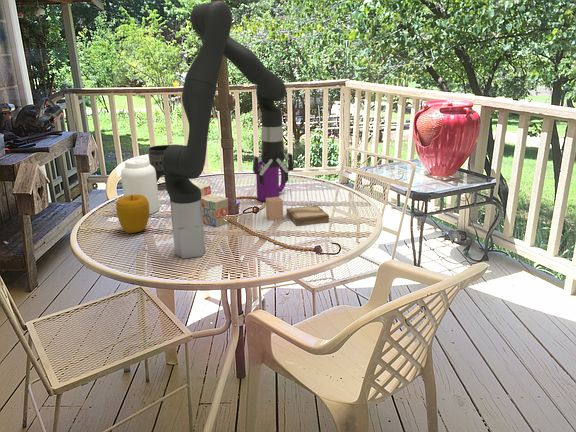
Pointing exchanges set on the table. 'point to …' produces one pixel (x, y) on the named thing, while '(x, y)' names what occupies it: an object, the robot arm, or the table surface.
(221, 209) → the stack of blocks
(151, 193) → the white jar
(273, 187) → the mug
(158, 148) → the planter
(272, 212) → the block
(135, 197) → the apple
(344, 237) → the table surface
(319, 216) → the base
